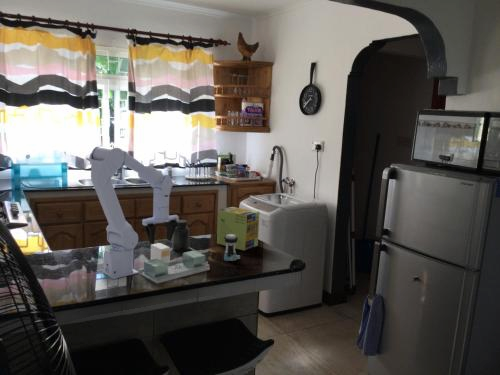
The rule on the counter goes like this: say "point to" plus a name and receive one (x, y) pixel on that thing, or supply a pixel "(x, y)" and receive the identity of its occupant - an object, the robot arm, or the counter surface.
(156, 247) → the block
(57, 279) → the counter surface
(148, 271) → the din panel
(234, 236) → the push button
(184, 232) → the supplement bottle
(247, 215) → the protein box
